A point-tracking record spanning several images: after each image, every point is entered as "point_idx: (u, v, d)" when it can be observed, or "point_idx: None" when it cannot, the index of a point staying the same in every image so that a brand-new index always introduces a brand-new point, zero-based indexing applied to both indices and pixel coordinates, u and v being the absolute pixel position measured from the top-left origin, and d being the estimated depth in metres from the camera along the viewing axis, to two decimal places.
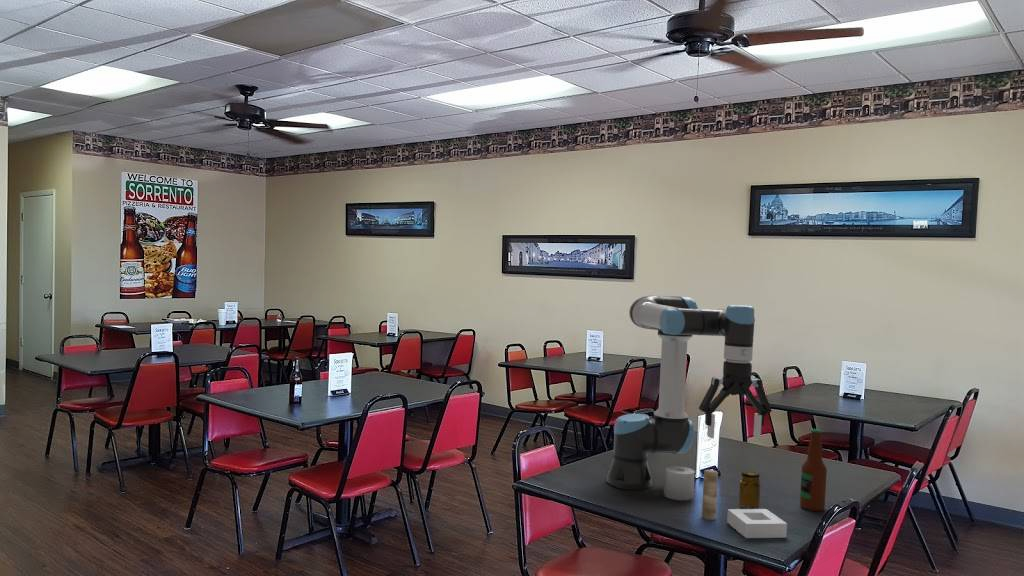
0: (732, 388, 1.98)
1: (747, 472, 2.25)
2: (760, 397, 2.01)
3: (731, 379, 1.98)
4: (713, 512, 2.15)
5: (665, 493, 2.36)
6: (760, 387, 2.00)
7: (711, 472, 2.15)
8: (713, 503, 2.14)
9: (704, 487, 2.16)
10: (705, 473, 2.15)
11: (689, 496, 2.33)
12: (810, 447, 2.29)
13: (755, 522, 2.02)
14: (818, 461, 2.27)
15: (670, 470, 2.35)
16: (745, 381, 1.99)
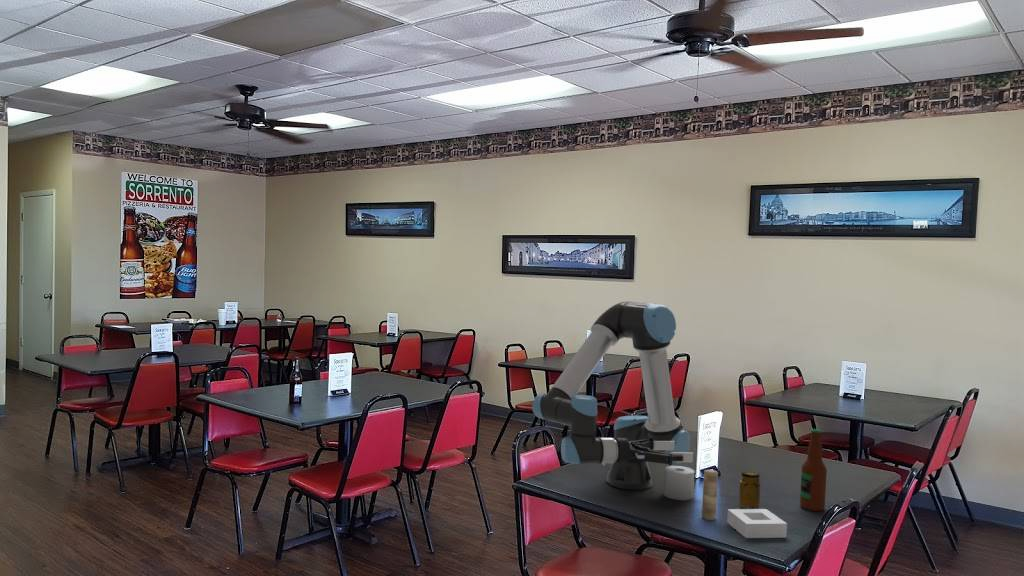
0: None
1: (747, 472, 2.25)
2: None
3: None
4: (713, 512, 2.15)
5: (665, 493, 2.36)
6: None
7: (711, 472, 2.15)
8: (713, 503, 2.14)
9: (704, 487, 2.16)
10: (705, 473, 2.15)
11: (688, 496, 2.33)
12: (810, 447, 2.29)
13: (755, 522, 2.02)
14: (818, 461, 2.27)
15: (670, 470, 2.36)
16: None
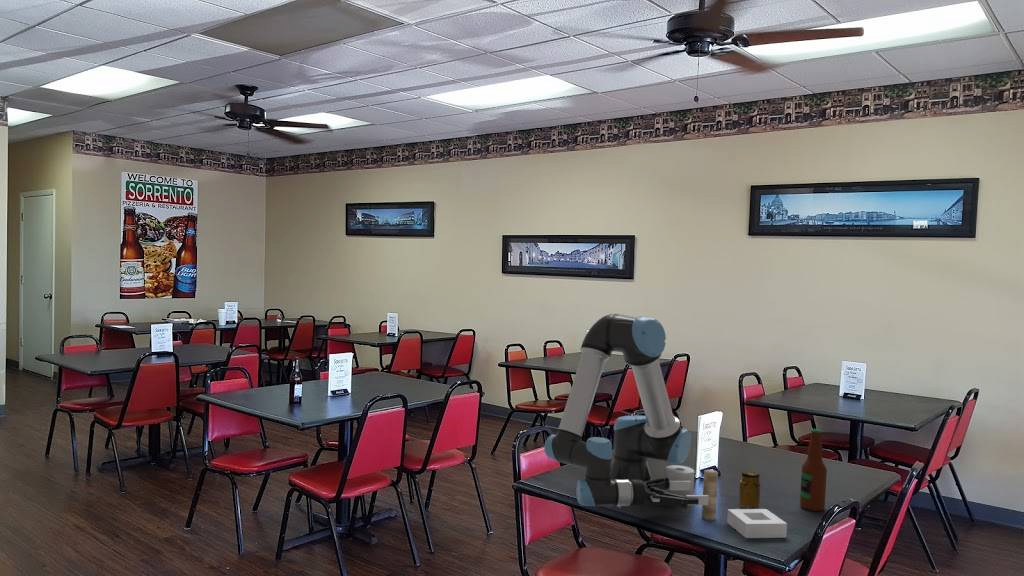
0: None
1: (747, 472, 2.25)
2: None
3: None
4: (713, 512, 2.15)
5: None
6: None
7: (711, 472, 2.15)
8: (713, 503, 2.14)
9: (704, 487, 2.16)
10: (705, 473, 2.15)
11: None
12: (810, 447, 2.29)
13: (755, 522, 2.02)
14: (818, 461, 2.27)
15: (670, 469, 2.36)
16: None
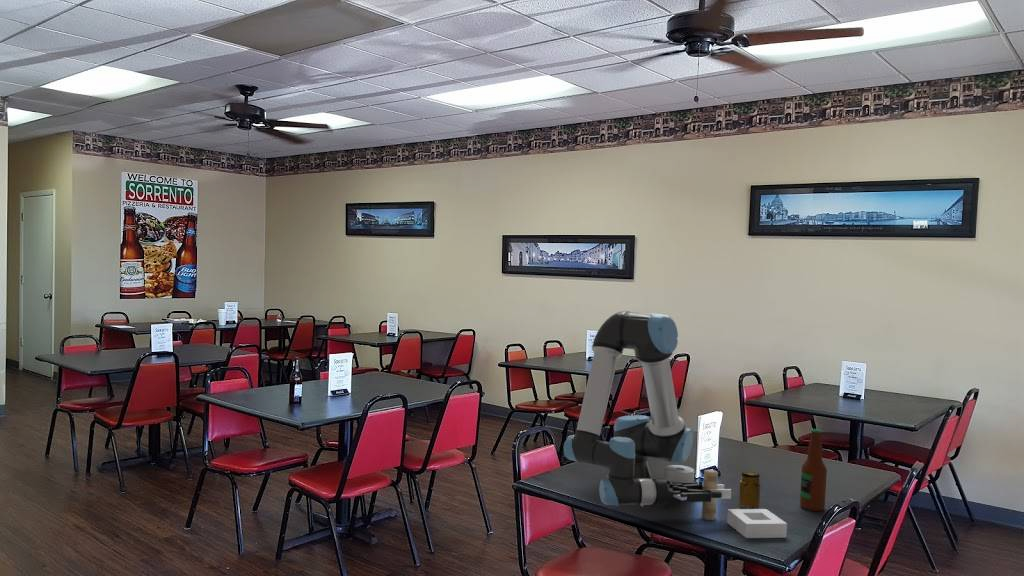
0: None
1: (747, 472, 2.25)
2: None
3: None
4: (713, 512, 2.15)
5: None
6: None
7: (711, 472, 2.15)
8: (713, 503, 2.14)
9: (704, 487, 2.16)
10: (705, 473, 2.15)
11: None
12: (810, 447, 2.29)
13: (755, 522, 2.02)
14: (818, 461, 2.27)
15: (670, 469, 2.36)
16: None
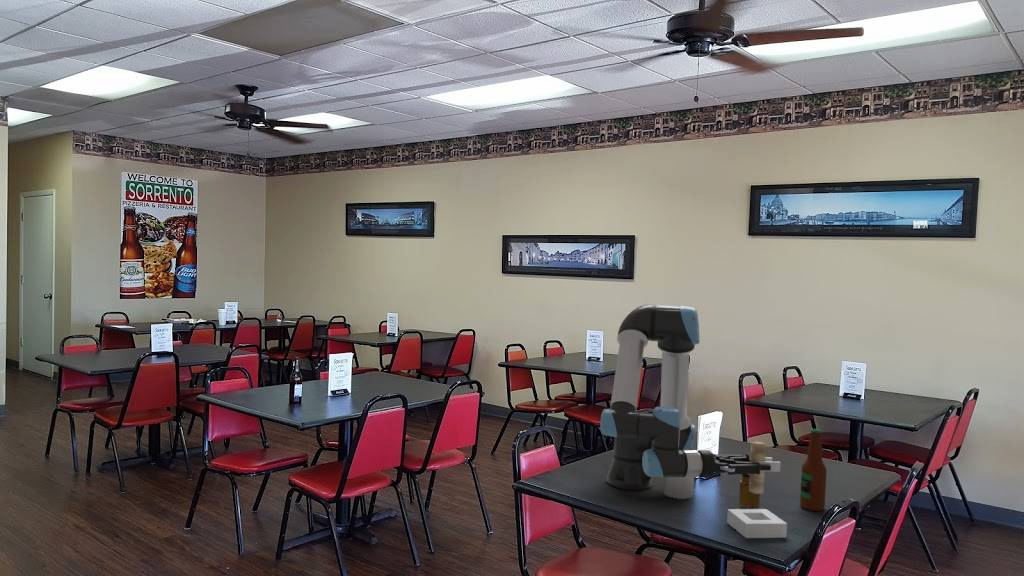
0: None
1: None
2: None
3: None
4: (761, 486, 2.05)
5: (665, 491, 2.37)
6: None
7: (759, 444, 2.06)
8: (761, 476, 2.05)
9: (751, 459, 2.06)
10: (753, 445, 2.06)
11: (688, 494, 2.35)
12: (810, 447, 2.29)
13: (755, 522, 2.02)
14: (817, 461, 2.27)
15: None
16: None
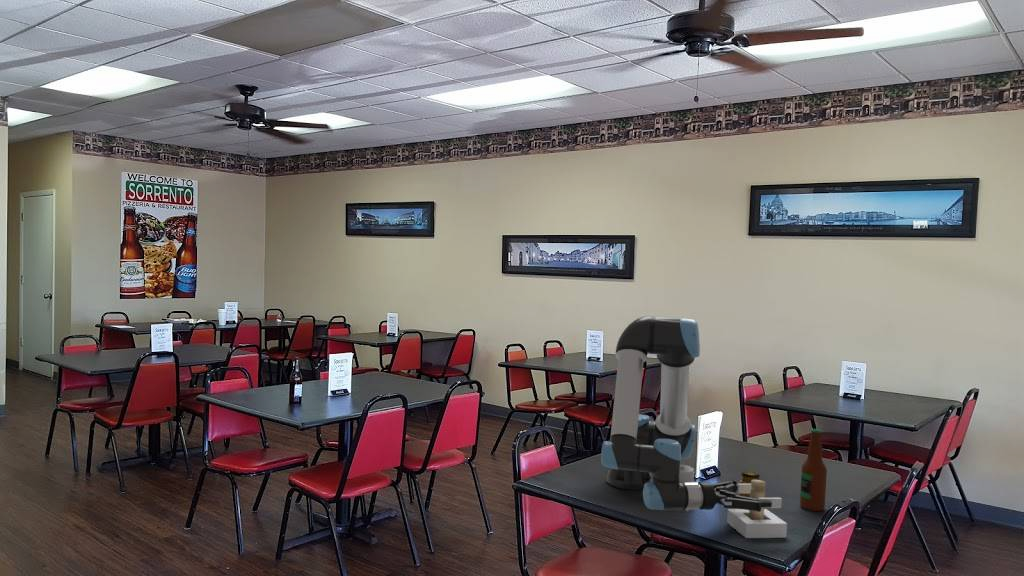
0: None
1: (747, 472, 2.25)
2: None
3: None
4: None
5: None
6: None
7: (758, 482, 2.07)
8: (761, 515, 2.06)
9: None
10: (752, 483, 2.07)
11: None
12: (810, 447, 2.29)
13: (755, 522, 2.02)
14: (818, 461, 2.27)
15: None
16: None
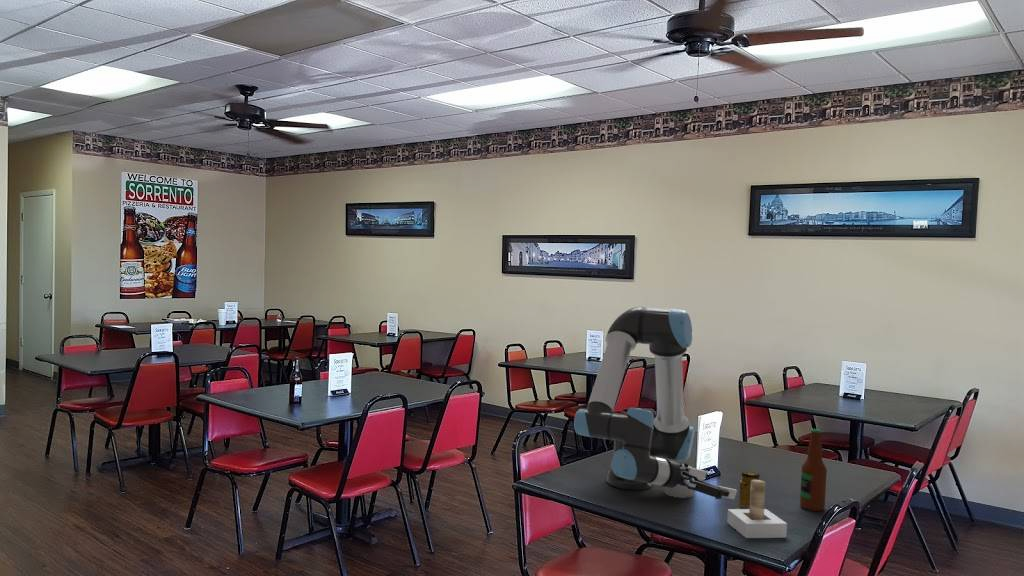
0: None
1: (747, 472, 2.25)
2: None
3: None
4: None
5: (665, 490, 2.39)
6: None
7: (758, 482, 2.07)
8: (761, 515, 2.06)
9: (751, 498, 2.07)
10: (752, 483, 2.07)
11: (688, 493, 2.36)
12: (810, 447, 2.29)
13: (755, 522, 2.02)
14: (818, 461, 2.27)
15: None
16: None
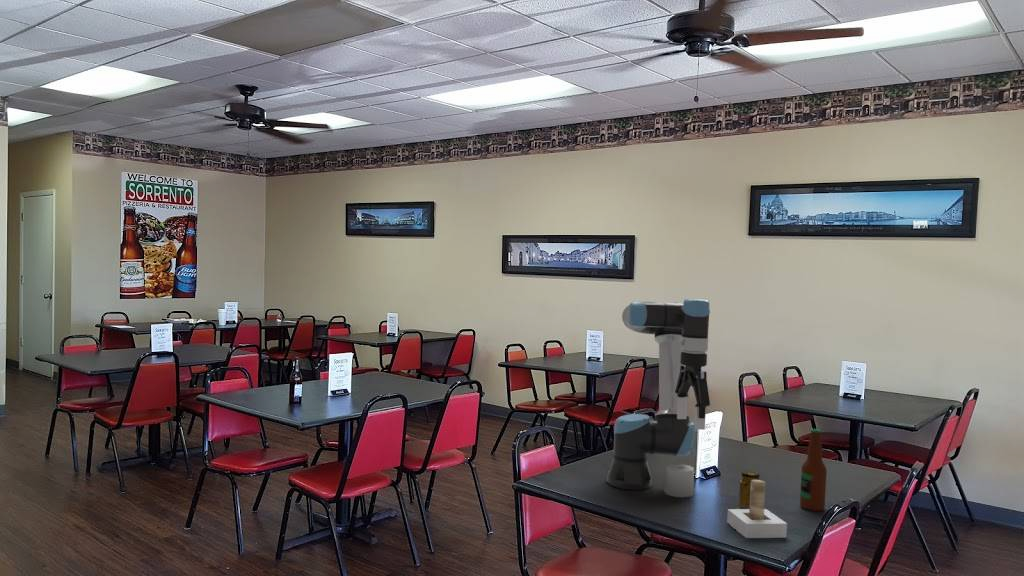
0: (684, 375, 2.14)
1: (747, 472, 2.25)
2: None
3: (686, 367, 2.14)
4: None
5: (665, 490, 2.39)
6: (697, 379, 2.05)
7: (758, 482, 2.07)
8: (761, 515, 2.06)
9: (751, 498, 2.07)
10: (752, 483, 2.07)
11: (688, 493, 2.36)
12: (810, 447, 2.29)
13: (755, 522, 2.02)
14: (817, 461, 2.27)
15: (670, 467, 2.38)
16: (692, 371, 2.10)
